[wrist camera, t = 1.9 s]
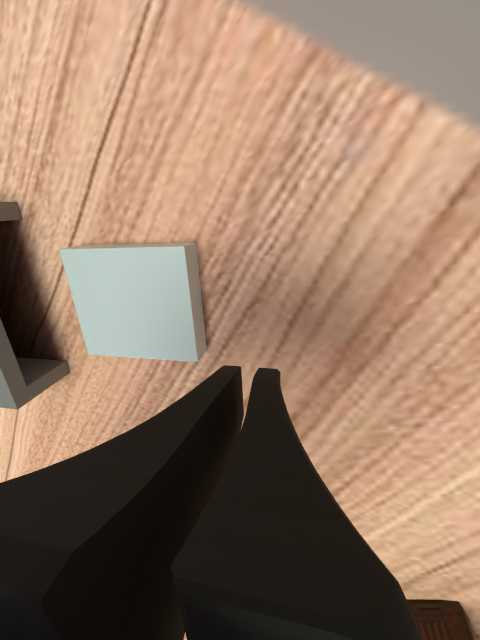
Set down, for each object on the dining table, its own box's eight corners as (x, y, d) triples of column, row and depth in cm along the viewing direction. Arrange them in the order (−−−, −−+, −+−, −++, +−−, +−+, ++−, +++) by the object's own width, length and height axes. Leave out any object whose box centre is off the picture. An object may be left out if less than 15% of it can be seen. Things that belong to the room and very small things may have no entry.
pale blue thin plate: (208, 346, 22) (197, 362, 20) (108, 340, 24) (88, 354, 22) (198, 241, 19) (184, 246, 17) (85, 244, 21) (59, 249, 19)
